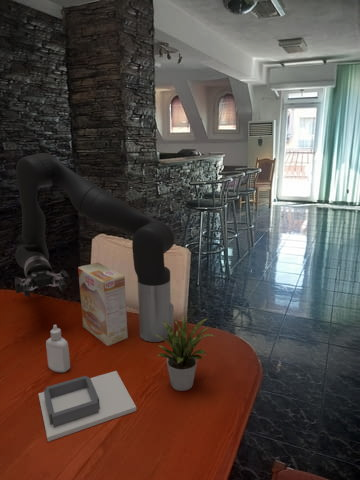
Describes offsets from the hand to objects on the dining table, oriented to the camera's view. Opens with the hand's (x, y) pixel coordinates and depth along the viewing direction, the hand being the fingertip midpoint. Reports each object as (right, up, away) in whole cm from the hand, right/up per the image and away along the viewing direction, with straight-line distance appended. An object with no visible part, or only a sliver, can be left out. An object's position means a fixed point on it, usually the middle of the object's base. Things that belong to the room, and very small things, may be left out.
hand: (45, 290), depth 98 cm
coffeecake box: (+13, -14, +12) cm, 23 cm away
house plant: (+38, -21, -11) cm, 44 cm away
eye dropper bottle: (+5, -19, -5) cm, 20 cm away
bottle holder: (+15, -22, -17) cm, 32 cm away
